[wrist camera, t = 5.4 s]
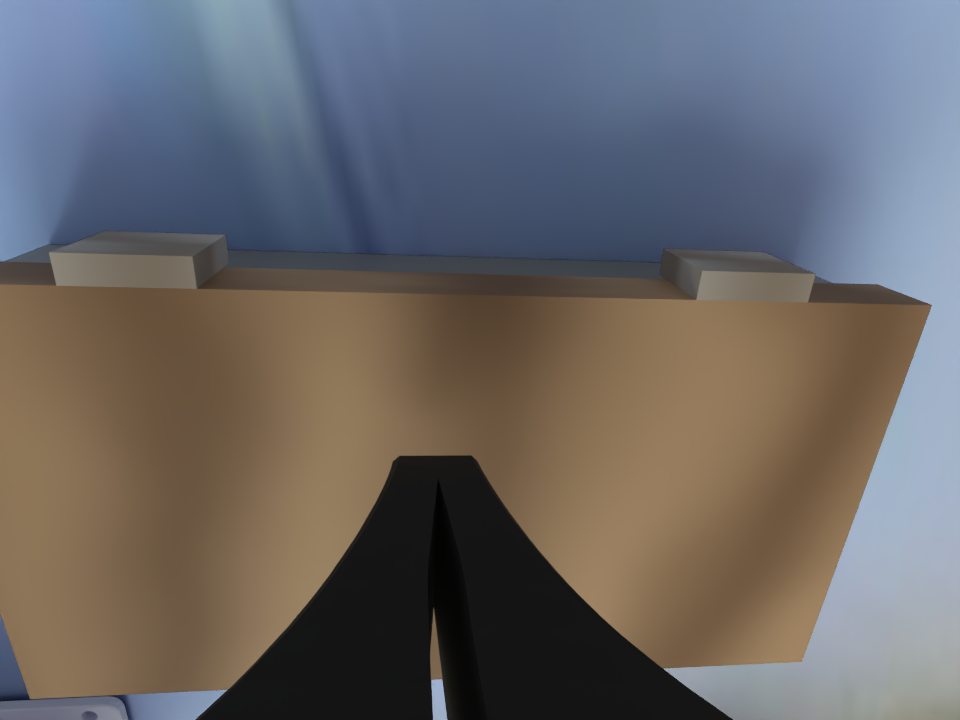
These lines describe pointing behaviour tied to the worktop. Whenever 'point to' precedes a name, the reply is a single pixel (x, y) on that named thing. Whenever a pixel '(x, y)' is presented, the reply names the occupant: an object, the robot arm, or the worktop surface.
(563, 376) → the tan flat wooden board
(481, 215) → the worktop surface
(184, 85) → the worktop surface
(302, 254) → the cable duct
